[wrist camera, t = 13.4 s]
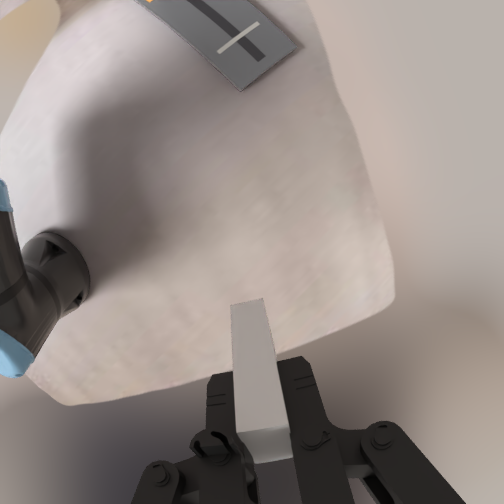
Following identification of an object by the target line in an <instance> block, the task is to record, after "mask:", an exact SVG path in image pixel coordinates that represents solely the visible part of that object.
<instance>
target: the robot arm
mask: <svg viewBox="0 0 504 504" xmlns="http://www.w3.org/2000/svg"><path fill="white" fill-rule="evenodd" d="M89 287H90V278H89V272H88V269H87V266H86V263H85V261H84V259H83V258H82V256H81V254H80V253H79V252H78V250H77V249H76V248H75V247H74V246H73V245H72V244H71V243H70V242H69V241H68V240H66V239H65V238H63V237H61V236H59V235H57V234H54V233H41V234H38V235H36V236H35V237H33V238H32V239H31V240H29V241H28V242H27V243H26V244H25V246H24V247H23V249H22V251H20V246H19V242H18V238H17V233H16V228H15V223H14V218H13V208H12V207H11V204H10V199H9V194H8V189H7V185H6V183H5V182H4V181H3V180H2V179H1V178H0V374H1V375H3V376H6V377H11V378H18V377H21V376H22V375H23V374H24V373H25V372H26V370H27V369H28V367H29V366H30V365H31V364H32V363H33V362H34V360H35V358H36V356H37V354H38V353H39V351H40V349H41V347H42V346H43V344H44V342H45V341H46V339H47V337H48V336H49V334H50V333H51V331H52V329H53V328H54V326H55V324H56V323H57V322H58V320H59V319H61V318H62V317H64V316H66V315H67V314H69V313H71V312H72V311H74V310H76V309H77V308H78V307H79V306H80V305H81V304H82V302H83V301H84V299H85V298H86V296H87V294H88V292H89ZM231 333H232V358H233V371H231V372H226V373H220V374H213V375H212V377H211V379H210V381H209V382H208V384H207V402H206V404H207V408H206V429H205V430H202V431H201V432H199V433H197V434H196V435H195V436H194V438H193V439H192V440H191V443H190V449H191V450H192V451H193V452H194V453H195V454H196V455H195V456H194V457H191V458H189V459H187V460H184V461H181V462H178V463H175V464H172V463H170V462H168V461H156V462H152V463H151V464H150V465H148V466H147V467H146V469H145V470H144V472H143V474H142V476H141V479H140V482H139V484H138V487H137V489H136V492H135V494H134V497H133V500H132V502H131V504H261V500H260V492H259V484H258V477H257V474H256V472H255V471H254V462H255V463H264V462H269V461H276V460H281V459H286V458H291V457H293V458H294V463H295V468H296V474H297V478H298V484H299V489H300V494H301V499H302V504H355V503H354V499H353V496H352V492H351V489H350V485H349V482H348V478H359V479H360V481H361V482H362V484H363V485H364V487H365V488H366V489H367V491H368V492H369V494H370V495H371V497H372V498H373V500H374V501H375V502H376V504H466V503H465V502H464V501H463V500H462V498H461V497H460V496H459V495H458V494H457V493H456V491H455V490H454V489H453V488H452V487H451V486H450V484H449V483H448V482H447V481H446V480H445V479H444V478H443V477H442V475H441V474H440V473H439V472H438V471H437V470H436V468H435V467H434V466H433V465H432V464H431V463H430V461H429V460H428V459H427V458H426V457H425V456H424V454H423V453H422V452H421V451H420V450H419V449H418V448H417V446H416V445H415V444H414V443H413V442H412V440H410V438H409V437H408V436H407V435H406V434H405V432H404V431H403V430H402V429H401V428H400V427H399V426H398V425H396V424H395V423H393V422H389V421H379V422H376V423H374V424H371V425H370V426H369V427H368V428H367V429H362V430H345V429H340V428H338V427H336V426H334V425H332V423H331V422H330V421H329V420H328V418H327V416H326V413H325V410H324V407H323V403H322V400H321V397H320V394H319V391H318V387H317V385H316V381H315V378H314V375H313V372H312V369H311V365H310V363H308V362H307V361H306V360H305V359H304V358H303V357H302V356H299V357H295V358H291V359H286V360H282V361H278V362H277V357H276V352H275V347H274V343H273V338H272V334H271V330H270V326H269V322H268V318H267V313H266V309H265V305H264V301H263V298H261V299H257V300H252V301H248V302H243V303H239V304H234V305H231ZM253 460H254V461H253Z"/></svg>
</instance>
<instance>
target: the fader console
mask: <svg viewBox="0 0 504 504" xmlns="http://www.w3.org/2000/svg"><path fill="white" fill-rule="evenodd" d="M134 1H136V2H137V3H138V4H140V5H141V6H143V7H144V8H145V9H147V10H148V11H149V12H150V13H152V14H153V15H154V16H156V17H157V18H158V19H159V20H161V21H162V22H163V23H164V24H166V25H167V26H168V27H169V28H171V29H172V30H173V31H174V32H176V33H177V34H178V35H179V36H180V37H181V38H183V39H184V40H185V41H186V42H187V43H188V44H190V45H191V46H192V47H193V48H194V49H195V50H196V51H198V52H199V53H200V54H201V55H202V56H203V57H204V58H205V59H206V60H208V61H209V62H210V63H211V64H212V65H213V66H214V67H215V68H216V69H217V70H218V71H219V72H220V73H222V74H223V75H224V76H225V77H226V78H227V79H228V80H229V81H230V82H231V83H232V84H233V85H234V86H235V87H236V88H237V89H238V90H239V91H240V92H241V91H242V90H243V89H244V88H246V87H247V86H248V85H249V84H251V83H252V82H253V81H254V80H256V79H257V78H258V77H259V76H261V75H262V74H263V73H264V72H266V71H267V70H268V69H270V68H271V67H272V66H273V65H275V64H276V63H277V62H279V61H280V60H282V59H283V58H284V57H286V56H287V55H288V54H290V53H291V52H293V51H294V50H295V49H296V48H297V46H296V45H295V44H294V43H293V42H292V41H291V40H290V39H289V38H288V37H287V36H286V35H285V34H284V33H283V32H282V31H281V30H280V29H279V28H278V27H277V26H276V25H275V24H274V23H273V22H272V21H270V20H269V19H268V18H267V17H266V16H265V15H264V14H263V13H262V12H260V11H259V10H258V9H257V8H256V7H255V6H253V5H252V4H251V3H250V2H249V1H247V0H134Z"/></svg>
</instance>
